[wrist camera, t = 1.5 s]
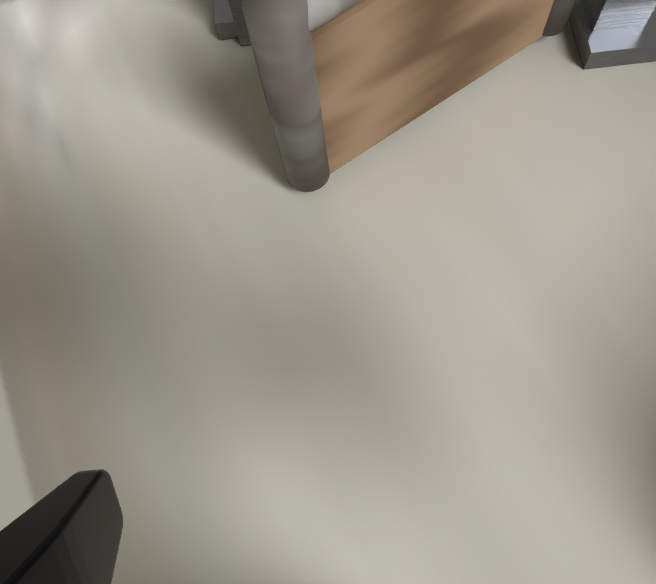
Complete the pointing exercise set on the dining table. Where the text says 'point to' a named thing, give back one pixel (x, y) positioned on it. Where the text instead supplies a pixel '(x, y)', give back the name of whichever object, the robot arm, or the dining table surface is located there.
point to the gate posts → (586, 19)
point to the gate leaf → (376, 66)
